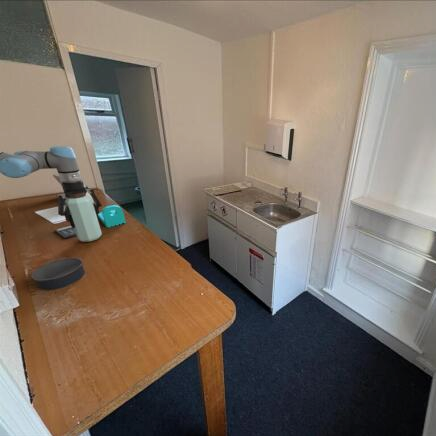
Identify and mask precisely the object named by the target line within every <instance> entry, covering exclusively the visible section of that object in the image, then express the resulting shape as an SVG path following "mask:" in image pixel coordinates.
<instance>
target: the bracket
mask: <svg viewBox="0 0 436 436" xmlns="http://www.w3.org/2000/svg"><path fill="white" fill-rule="evenodd" d="M98 217H99V220H100V221H101V222H102V224H103V225H104V226H105V227H106V228H107V227H108V228H111V226H112V227H116V226H120V225H123V224H122V223H124V224H127V221H126V218H125V214H124V209H123V208H122V207H120V206H119V205H117V204H111V205H107V206H104V207H103V208H102V209H101V212H99V214H98ZM119 224H120V225H119ZM115 225H116V226H115Z"/></svg>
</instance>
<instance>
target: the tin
mask: <svg viewBox="0 0 436 436" xmlns="http://www.w3.org/2000/svg"><path fill="white" fill-rule="evenodd" d="M85 273H86V270H85V268H84V266H83V261H82V259H81V258H77V257H65V258H59V259H56V260H53V261H50V262H47V263H45V264H43V265H41V266H40V267H38V268H36V269H35V270H34V271H33V272H32V274H31V278H32V279H33V280H34V281H35V284H36V285H37V287H38V289H40V290H43V291H53V290H59V289H62V288H65V287H68V286H70V285H72V284H74V283H77V282H78V281H79V280H81V279H82V278H83V277H84V275H85Z"/></svg>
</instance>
